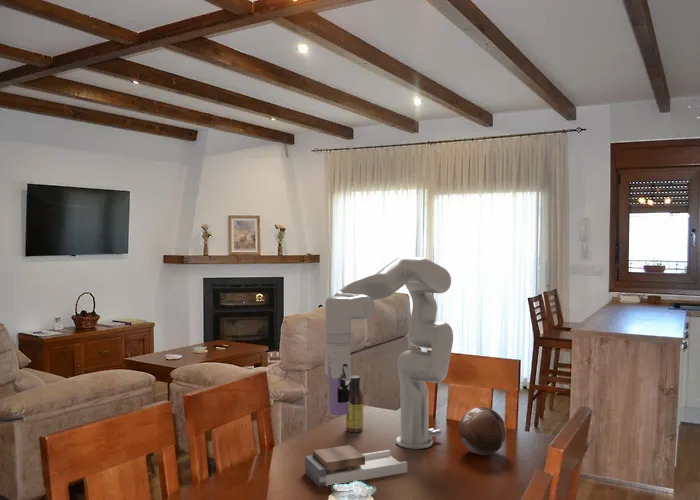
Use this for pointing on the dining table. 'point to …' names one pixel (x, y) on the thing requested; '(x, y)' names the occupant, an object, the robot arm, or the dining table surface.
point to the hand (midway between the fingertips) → (338, 398)
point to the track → (373, 468)
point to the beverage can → (335, 398)
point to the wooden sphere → (482, 431)
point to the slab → (339, 458)
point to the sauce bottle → (354, 406)
